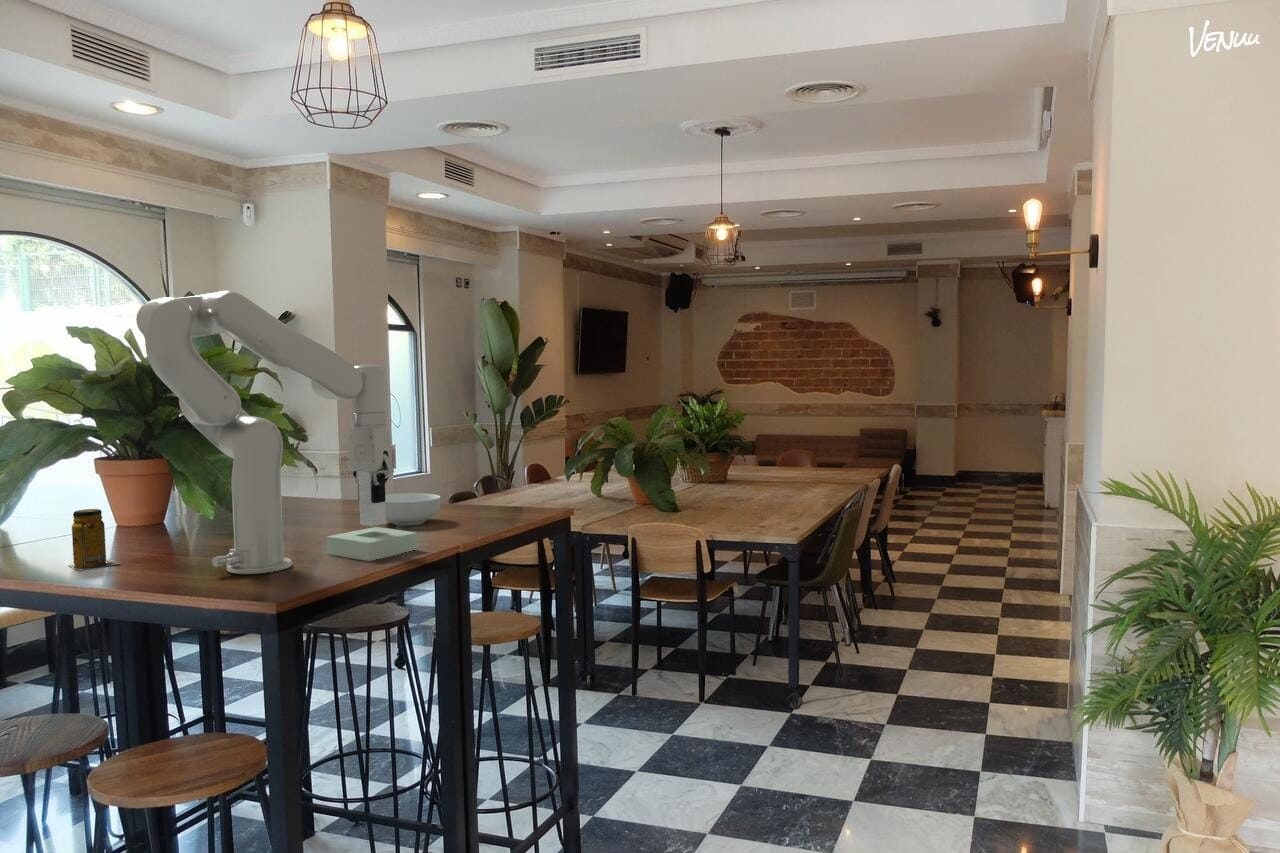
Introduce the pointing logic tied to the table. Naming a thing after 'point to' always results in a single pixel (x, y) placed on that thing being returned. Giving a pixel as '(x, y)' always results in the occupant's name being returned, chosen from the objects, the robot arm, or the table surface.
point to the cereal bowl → (411, 508)
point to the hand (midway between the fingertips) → (372, 500)
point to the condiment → (89, 540)
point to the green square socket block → (371, 543)
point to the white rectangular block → (369, 502)
